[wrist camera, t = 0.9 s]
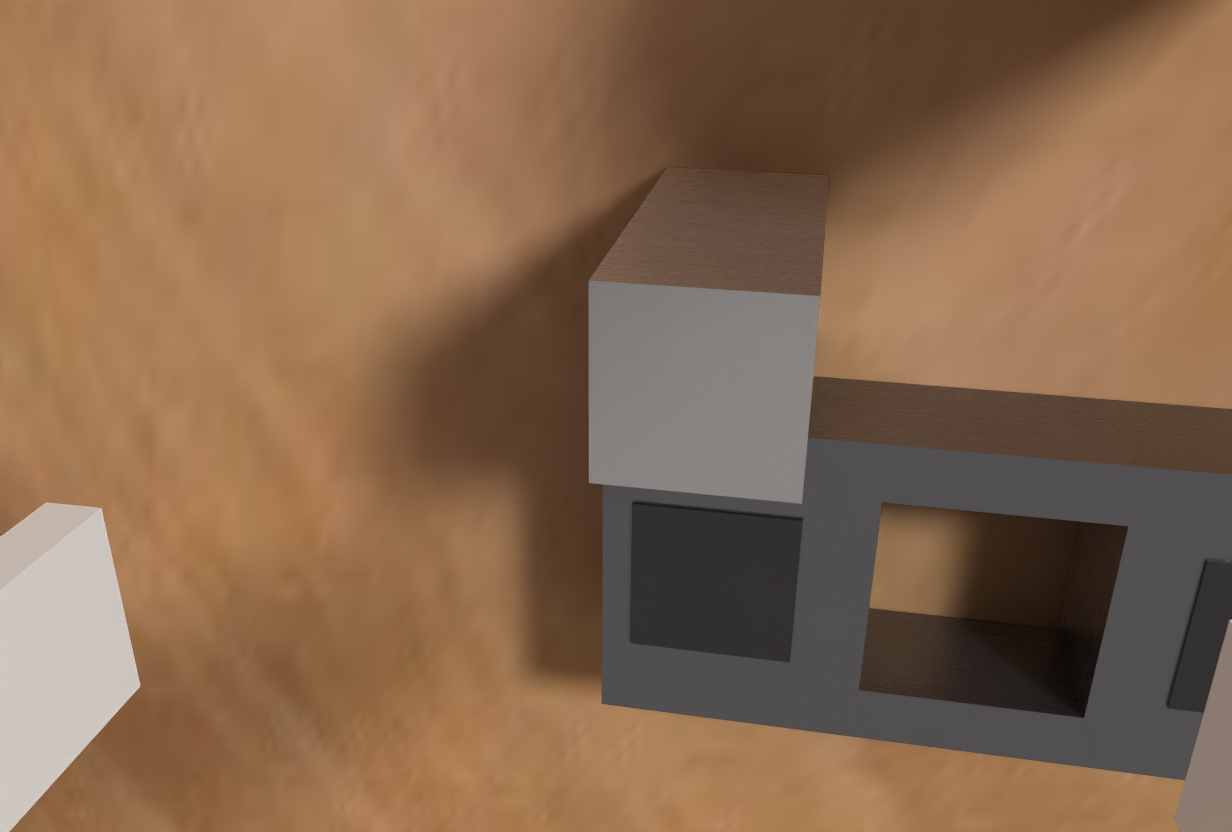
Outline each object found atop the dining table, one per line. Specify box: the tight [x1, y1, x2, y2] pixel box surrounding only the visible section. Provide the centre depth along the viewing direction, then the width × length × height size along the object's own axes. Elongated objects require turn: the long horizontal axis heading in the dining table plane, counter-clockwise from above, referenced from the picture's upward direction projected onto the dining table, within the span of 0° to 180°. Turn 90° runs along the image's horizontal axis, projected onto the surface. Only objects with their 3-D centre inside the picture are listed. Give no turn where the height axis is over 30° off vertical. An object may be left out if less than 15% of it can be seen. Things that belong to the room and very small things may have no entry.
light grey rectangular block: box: [589, 167, 829, 504], centre depth 25 cm, size 4×4×10 cm
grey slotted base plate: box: [602, 377, 1232, 780], centre depth 30 cm, size 20×9×4 cm, turn 90°
